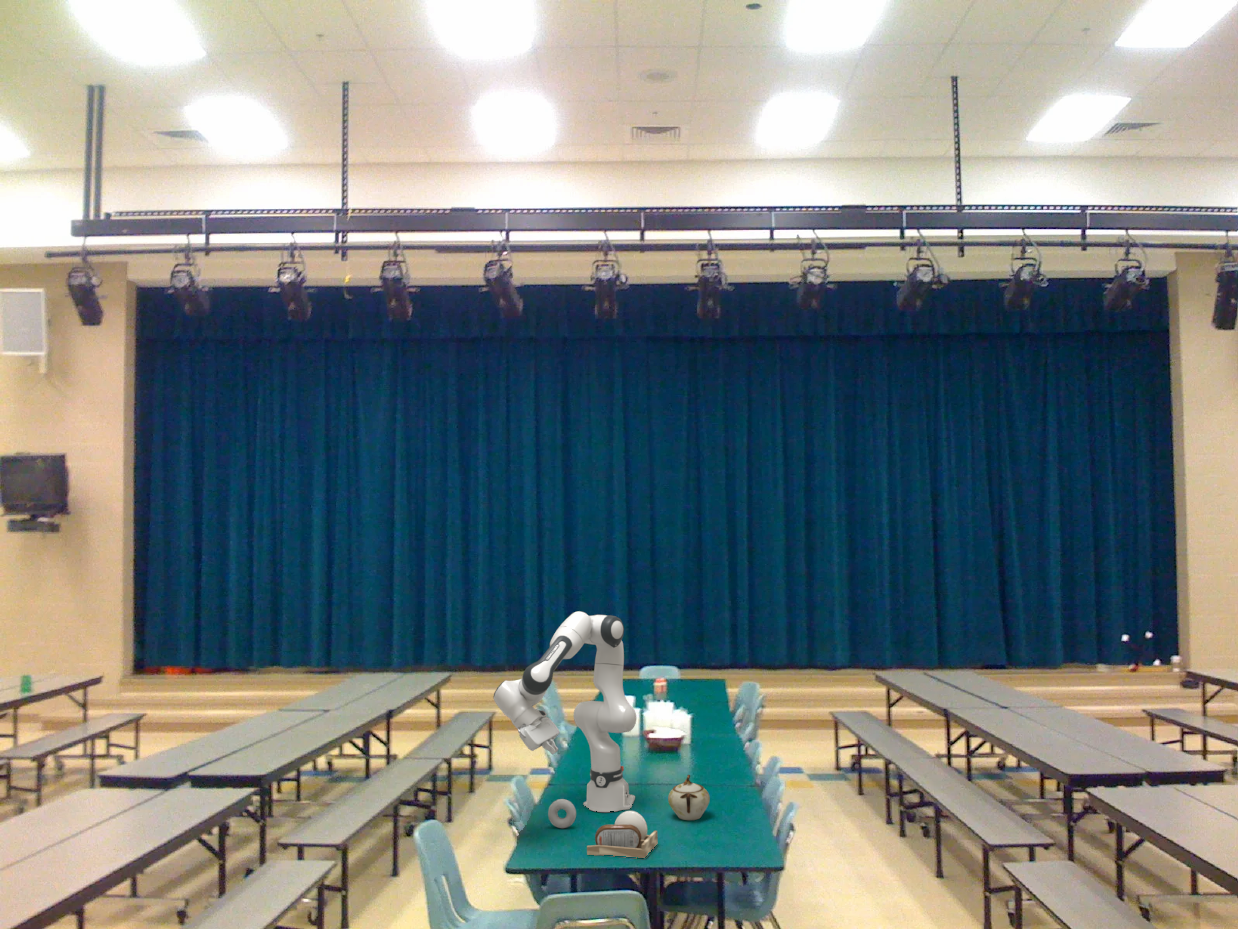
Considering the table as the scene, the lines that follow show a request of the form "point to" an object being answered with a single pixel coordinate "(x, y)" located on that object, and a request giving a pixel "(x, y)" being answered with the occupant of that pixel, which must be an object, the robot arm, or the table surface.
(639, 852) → the rack
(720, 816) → the table surface
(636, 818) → the racked plate
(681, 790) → the sugar bowl
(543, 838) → the table surface
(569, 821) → the donut
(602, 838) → the tin
